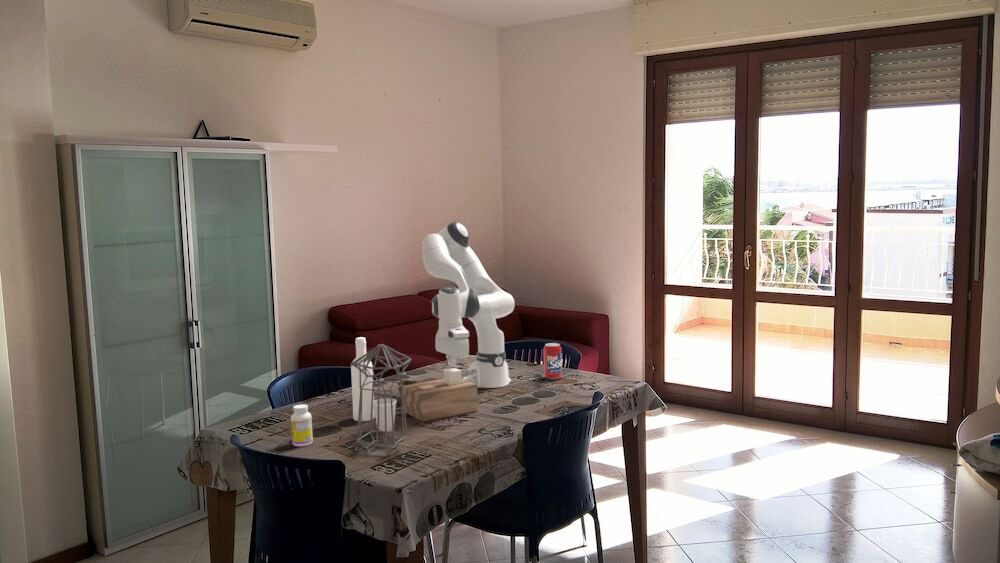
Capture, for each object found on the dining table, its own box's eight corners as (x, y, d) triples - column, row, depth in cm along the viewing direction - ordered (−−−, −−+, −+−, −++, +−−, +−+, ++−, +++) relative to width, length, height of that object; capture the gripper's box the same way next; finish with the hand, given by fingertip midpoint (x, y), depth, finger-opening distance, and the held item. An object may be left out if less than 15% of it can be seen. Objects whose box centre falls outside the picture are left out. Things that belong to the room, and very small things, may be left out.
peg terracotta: (418, 410, 288) (417, 386, 287) (430, 407, 291) (429, 384, 290) (424, 413, 284) (423, 389, 283) (436, 410, 287) (435, 387, 286)
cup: (420, 400, 307) (420, 380, 306) (411, 404, 300) (410, 384, 300) (404, 398, 310) (404, 378, 309) (394, 403, 304) (394, 383, 303)
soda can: (550, 375, 343) (549, 341, 342) (565, 377, 339) (564, 343, 337) (540, 378, 337) (540, 345, 335) (556, 381, 332) (555, 346, 331)
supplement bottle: (294, 441, 260) (292, 403, 258) (314, 440, 260) (312, 402, 259) (290, 447, 253) (288, 409, 251) (311, 446, 253) (309, 408, 252)
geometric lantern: (371, 442, 256) (369, 338, 252) (415, 447, 251) (414, 341, 248) (348, 458, 241) (346, 347, 237) (394, 463, 236) (393, 350, 233)
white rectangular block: (444, 393, 294) (443, 369, 293) (455, 391, 296) (454, 368, 295) (450, 395, 289) (449, 372, 288) (462, 393, 292) (461, 370, 291)
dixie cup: (376, 425, 274) (374, 398, 273) (399, 425, 274) (398, 398, 273) (371, 433, 266) (370, 404, 265) (395, 432, 266) (394, 404, 265)
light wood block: (403, 411, 291) (402, 385, 290) (457, 401, 303) (456, 376, 302) (422, 421, 278) (421, 394, 277) (477, 410, 290) (477, 384, 289)
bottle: (368, 422, 279) (364, 340, 275) (349, 420, 282) (345, 339, 278) (379, 416, 286) (375, 336, 283) (360, 414, 289) (356, 335, 286)
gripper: (430, 327, 297) (431, 362, 299) (456, 335, 280) (457, 372, 282) (445, 325, 300) (446, 360, 302) (471, 333, 283) (472, 369, 285)
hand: (452, 366), depth 292 cm, fingers closed
